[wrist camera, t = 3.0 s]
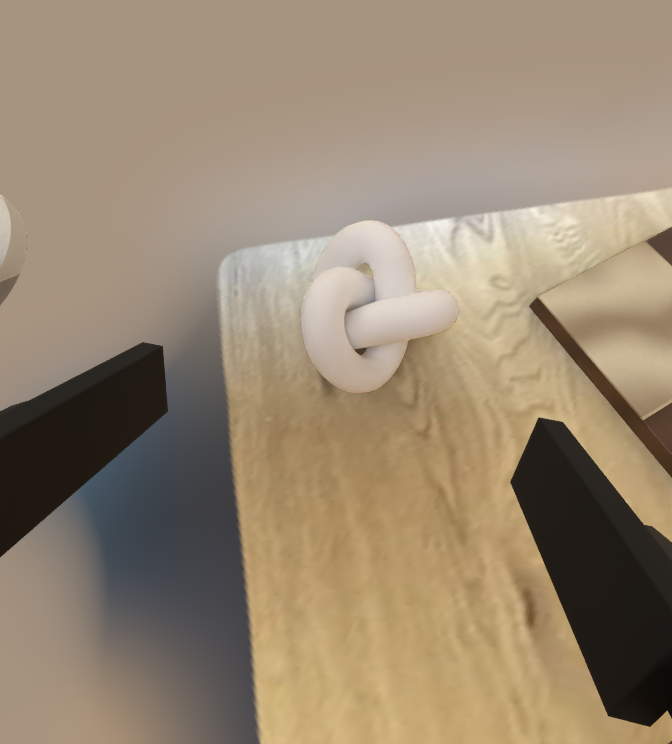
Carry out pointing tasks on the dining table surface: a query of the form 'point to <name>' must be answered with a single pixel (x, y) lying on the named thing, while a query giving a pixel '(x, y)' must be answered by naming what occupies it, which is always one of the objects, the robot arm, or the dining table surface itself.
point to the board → (623, 335)
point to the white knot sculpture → (368, 308)
